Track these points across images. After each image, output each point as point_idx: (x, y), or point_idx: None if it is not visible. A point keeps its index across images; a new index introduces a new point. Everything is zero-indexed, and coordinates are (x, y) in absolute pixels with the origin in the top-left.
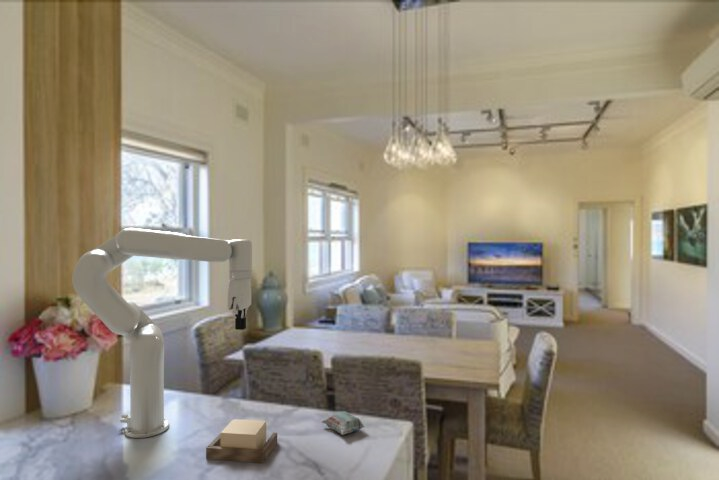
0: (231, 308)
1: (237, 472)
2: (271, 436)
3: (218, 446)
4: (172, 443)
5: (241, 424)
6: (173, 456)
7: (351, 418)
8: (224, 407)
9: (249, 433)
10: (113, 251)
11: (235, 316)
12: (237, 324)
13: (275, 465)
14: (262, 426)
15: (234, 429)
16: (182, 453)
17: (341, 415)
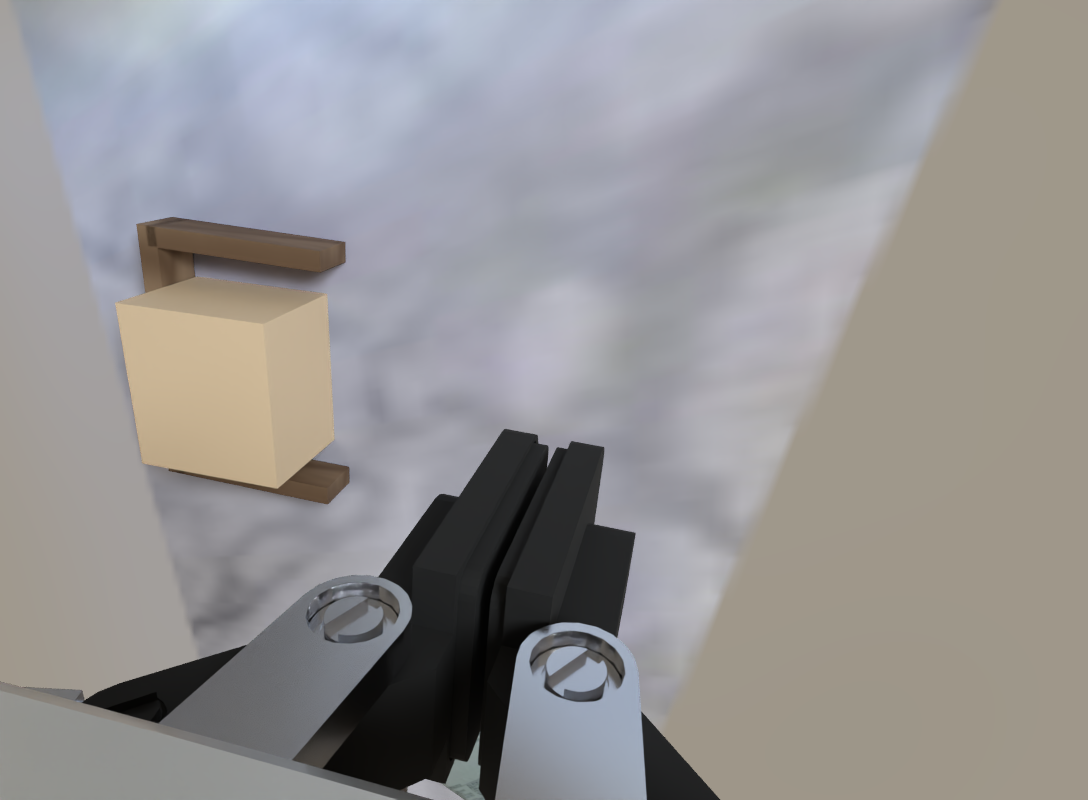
0: (24, 727)
1: (123, 373)
2: (291, 484)
3: (160, 278)
4: None
5: (216, 380)
6: (150, 46)
7: (453, 786)
8: (777, 83)
9: (145, 436)
10: None
11: (301, 620)
12: (419, 533)
13: (196, 493)
14: (231, 477)
15: (160, 360)
16: (183, 80)
17: (469, 760)
